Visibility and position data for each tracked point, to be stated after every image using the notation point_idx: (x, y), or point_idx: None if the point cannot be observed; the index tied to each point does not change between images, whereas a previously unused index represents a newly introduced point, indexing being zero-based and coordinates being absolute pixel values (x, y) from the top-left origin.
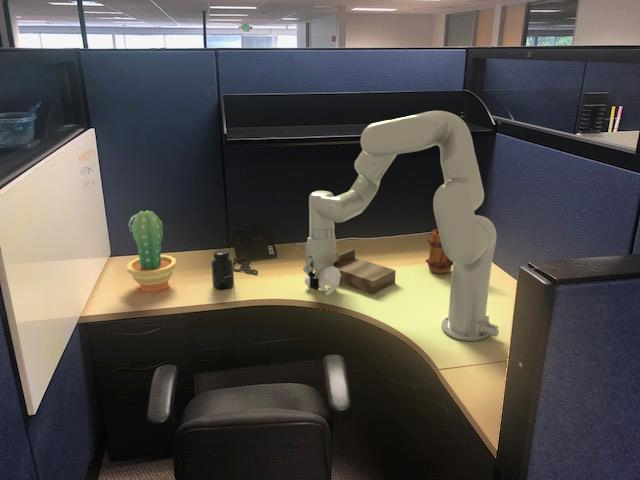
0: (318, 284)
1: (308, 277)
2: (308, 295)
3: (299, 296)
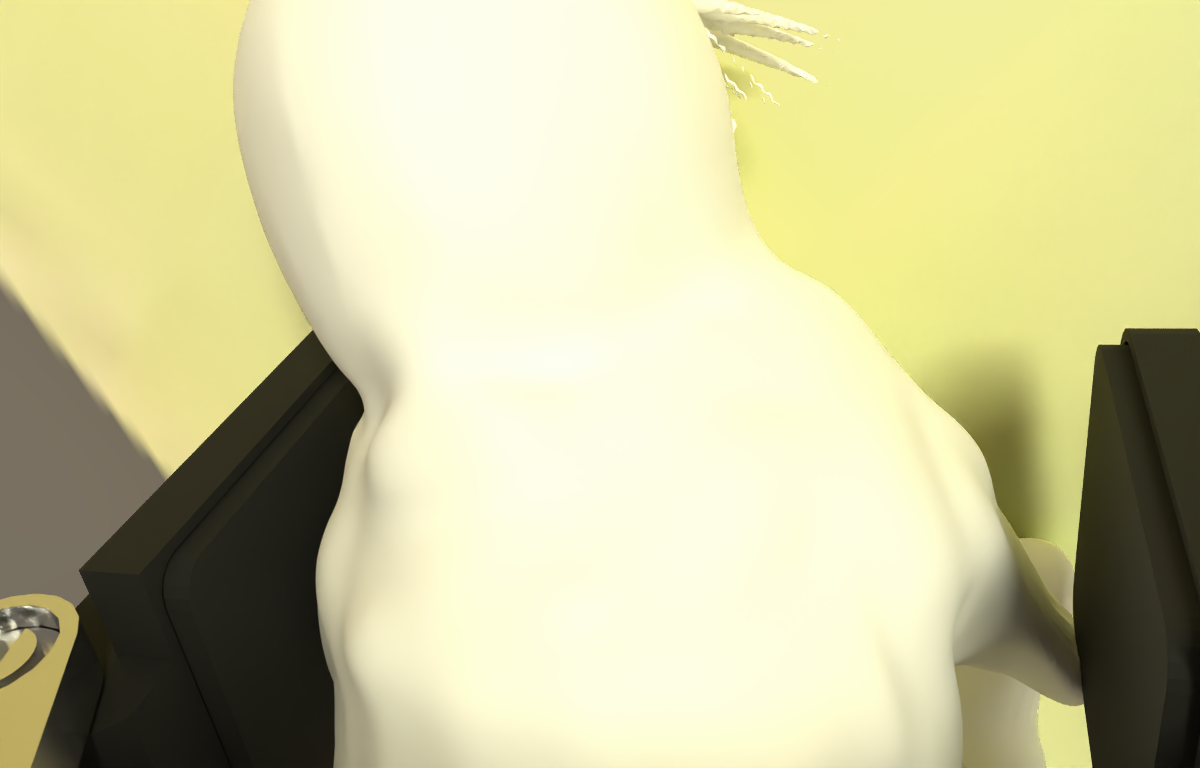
0: None
1: (274, 235)
2: (276, 332)
3: (66, 214)
